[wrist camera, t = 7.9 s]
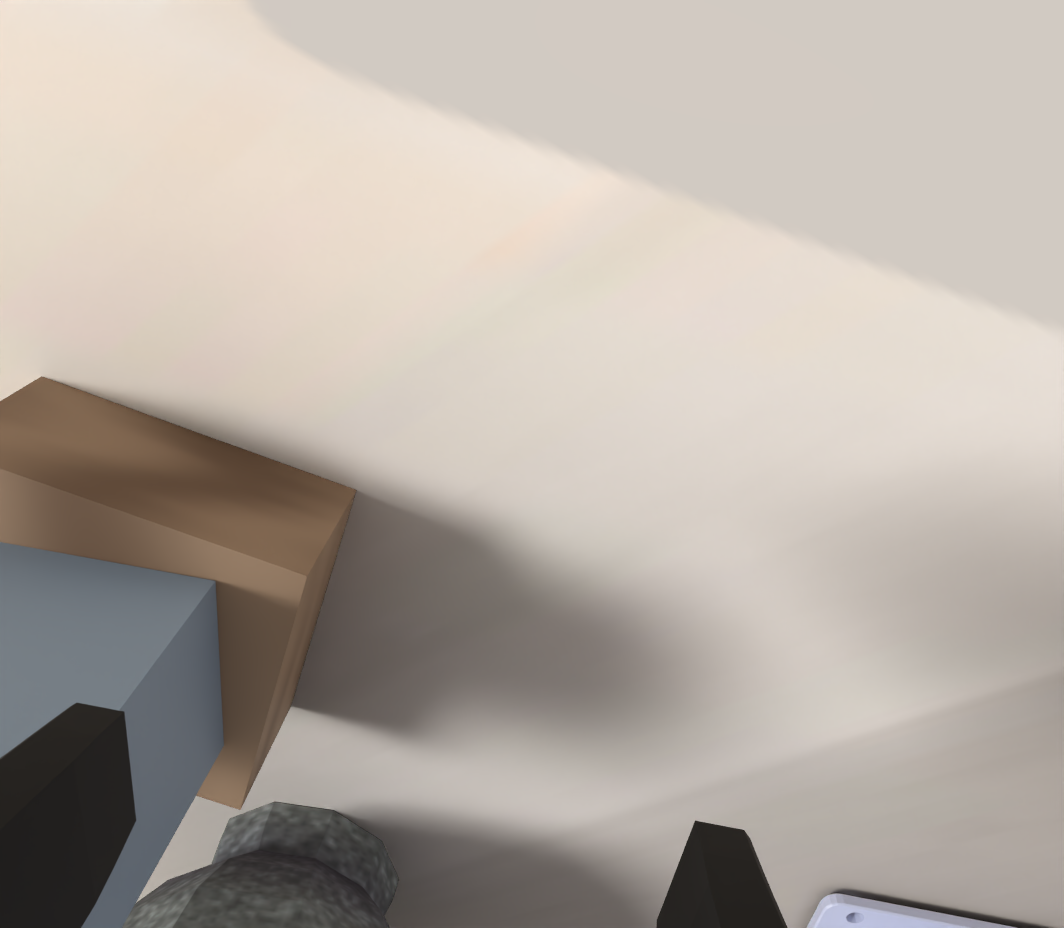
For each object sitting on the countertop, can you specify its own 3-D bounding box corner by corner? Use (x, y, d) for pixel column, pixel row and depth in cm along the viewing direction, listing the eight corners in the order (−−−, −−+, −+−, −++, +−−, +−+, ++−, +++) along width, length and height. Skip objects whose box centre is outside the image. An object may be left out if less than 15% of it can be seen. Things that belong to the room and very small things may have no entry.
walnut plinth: (360, 483, 21) (307, 576, 17) (294, 697, 25) (240, 809, 21) (49, 371, 20) (-71, 443, 17) (31, 609, 24) (-70, 709, 20)
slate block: (215, 580, 18) (39, 817, 12) (223, 745, 20) (79, 1003, 15) (-12, 539, 18) (-283, 757, 12) (23, 708, 20) (-191, 951, 15)
